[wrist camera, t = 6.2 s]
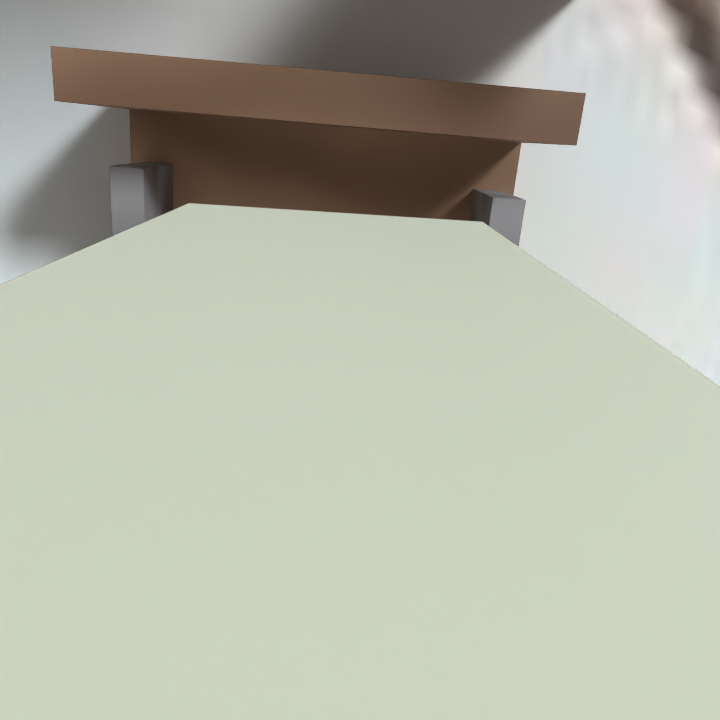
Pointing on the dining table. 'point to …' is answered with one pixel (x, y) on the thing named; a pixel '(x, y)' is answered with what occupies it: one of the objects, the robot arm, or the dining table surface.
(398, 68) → the dining table surface
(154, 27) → the dining table surface
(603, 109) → the dining table surface
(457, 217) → the shelf
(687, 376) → the pale green box
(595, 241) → the dining table surface
